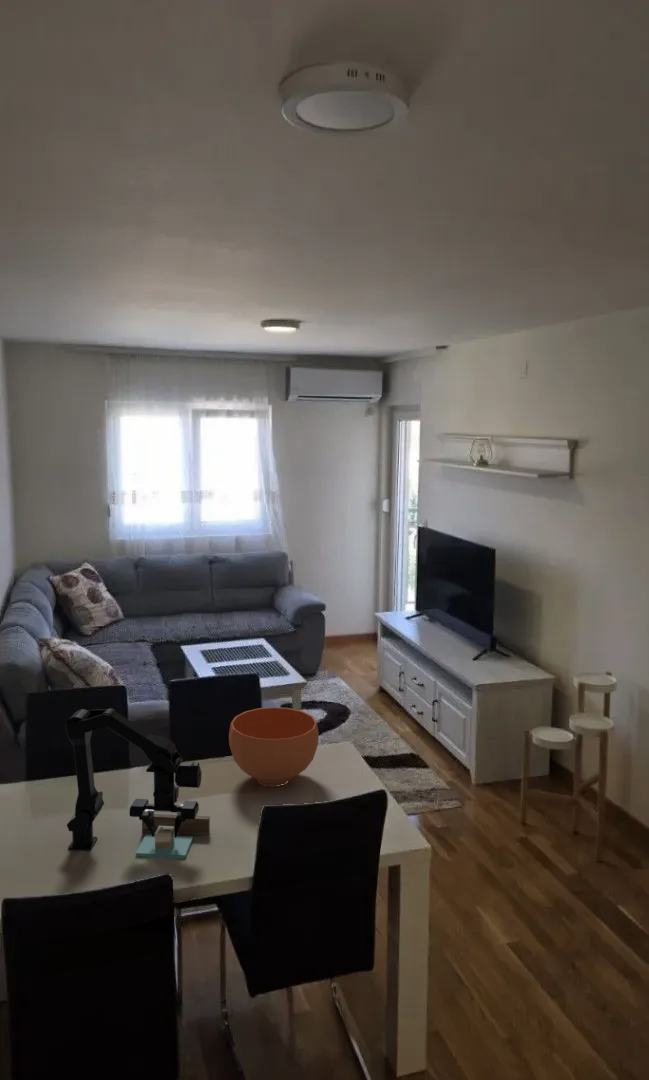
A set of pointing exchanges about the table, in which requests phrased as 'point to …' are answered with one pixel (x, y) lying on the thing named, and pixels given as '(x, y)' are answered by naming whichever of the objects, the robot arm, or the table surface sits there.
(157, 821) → the brown wooden plank
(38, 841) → the table surface
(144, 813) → the robot arm
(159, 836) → the maple cube
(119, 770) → the table surface
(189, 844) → the display plate
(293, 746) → the bowl
